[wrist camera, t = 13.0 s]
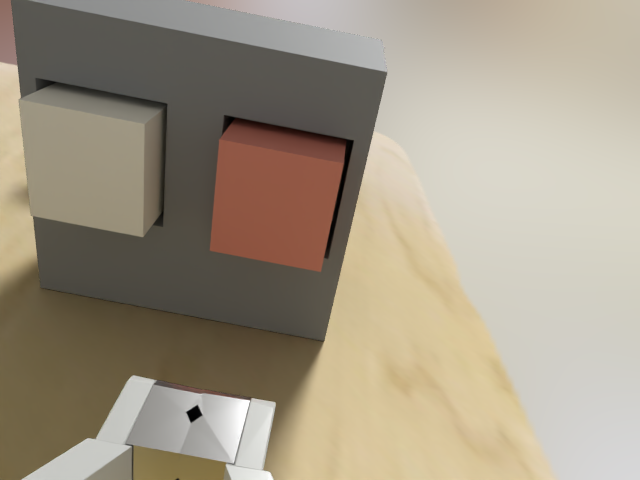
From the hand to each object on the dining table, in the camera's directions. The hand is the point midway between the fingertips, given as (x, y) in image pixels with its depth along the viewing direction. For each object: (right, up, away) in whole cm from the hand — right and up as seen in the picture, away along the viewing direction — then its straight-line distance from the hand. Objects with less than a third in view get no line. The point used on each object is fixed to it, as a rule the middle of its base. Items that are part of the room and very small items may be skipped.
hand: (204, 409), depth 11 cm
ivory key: (-8, +5, +14) cm, 16 cm away
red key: (0, +3, +14) cm, 14 cm away
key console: (-4, +2, +20) cm, 21 cm away
